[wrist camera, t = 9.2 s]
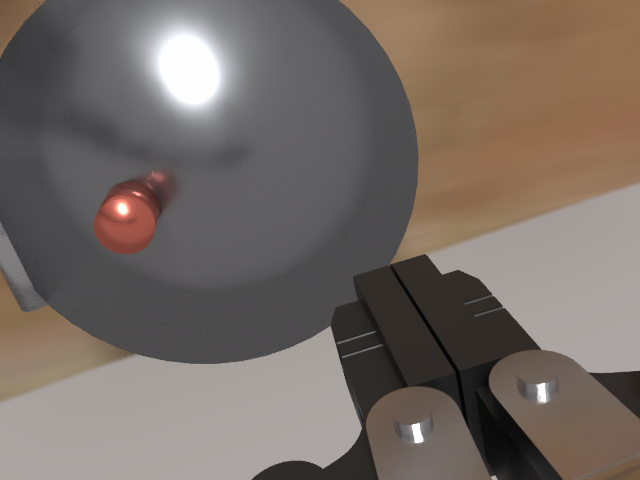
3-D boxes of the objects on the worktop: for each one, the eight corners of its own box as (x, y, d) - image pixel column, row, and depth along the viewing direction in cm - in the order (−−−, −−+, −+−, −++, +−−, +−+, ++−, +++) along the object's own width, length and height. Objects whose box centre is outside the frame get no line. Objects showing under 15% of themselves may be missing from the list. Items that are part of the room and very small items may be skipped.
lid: (-179, -99, 18) (-256, -112, 15) (348, -227, 19) (372, -262, 16) (74, 391, 27) (56, 444, 24) (434, 291, 27) (460, 331, 24)
